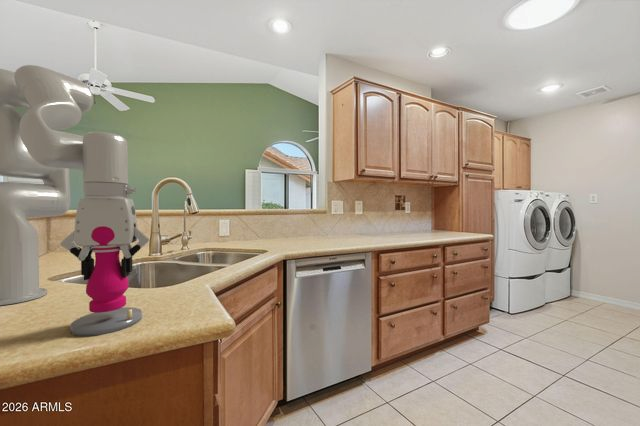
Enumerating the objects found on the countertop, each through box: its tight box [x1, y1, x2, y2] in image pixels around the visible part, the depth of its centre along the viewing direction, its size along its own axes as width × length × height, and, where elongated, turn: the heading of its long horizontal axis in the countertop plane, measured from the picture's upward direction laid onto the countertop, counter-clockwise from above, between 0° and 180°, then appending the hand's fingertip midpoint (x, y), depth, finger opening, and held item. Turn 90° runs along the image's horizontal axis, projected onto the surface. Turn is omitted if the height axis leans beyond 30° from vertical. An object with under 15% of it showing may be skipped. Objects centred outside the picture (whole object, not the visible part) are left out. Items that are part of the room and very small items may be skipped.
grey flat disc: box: [70, 306, 143, 337], centre depth 59 cm, size 12×12×3 cm
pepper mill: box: [85, 226, 129, 313], centre depth 59 cm, size 7×7×20 cm
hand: (107, 276), depth 59 cm, fingers closed on pepper mill, 5 cm apart
